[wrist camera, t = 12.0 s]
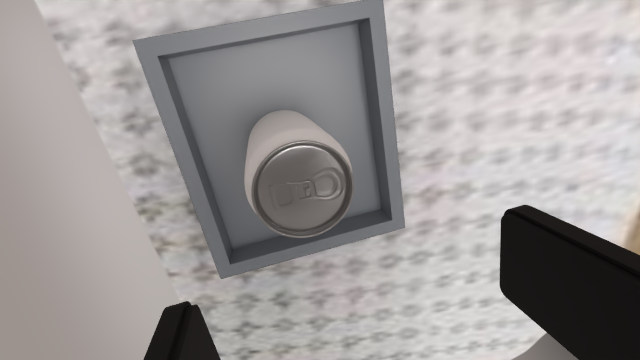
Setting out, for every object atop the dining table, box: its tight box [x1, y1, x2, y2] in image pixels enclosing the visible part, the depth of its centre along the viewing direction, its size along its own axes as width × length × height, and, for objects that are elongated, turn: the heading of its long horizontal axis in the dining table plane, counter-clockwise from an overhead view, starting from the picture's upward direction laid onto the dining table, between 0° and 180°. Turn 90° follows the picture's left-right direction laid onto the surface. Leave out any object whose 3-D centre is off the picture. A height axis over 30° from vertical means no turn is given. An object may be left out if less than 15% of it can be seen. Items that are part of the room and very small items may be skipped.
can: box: [244, 110, 354, 238], centre depth 22 cm, size 6×6×12 cm
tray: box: [132, 0, 405, 279], centre depth 27 cm, size 20×18×4 cm
